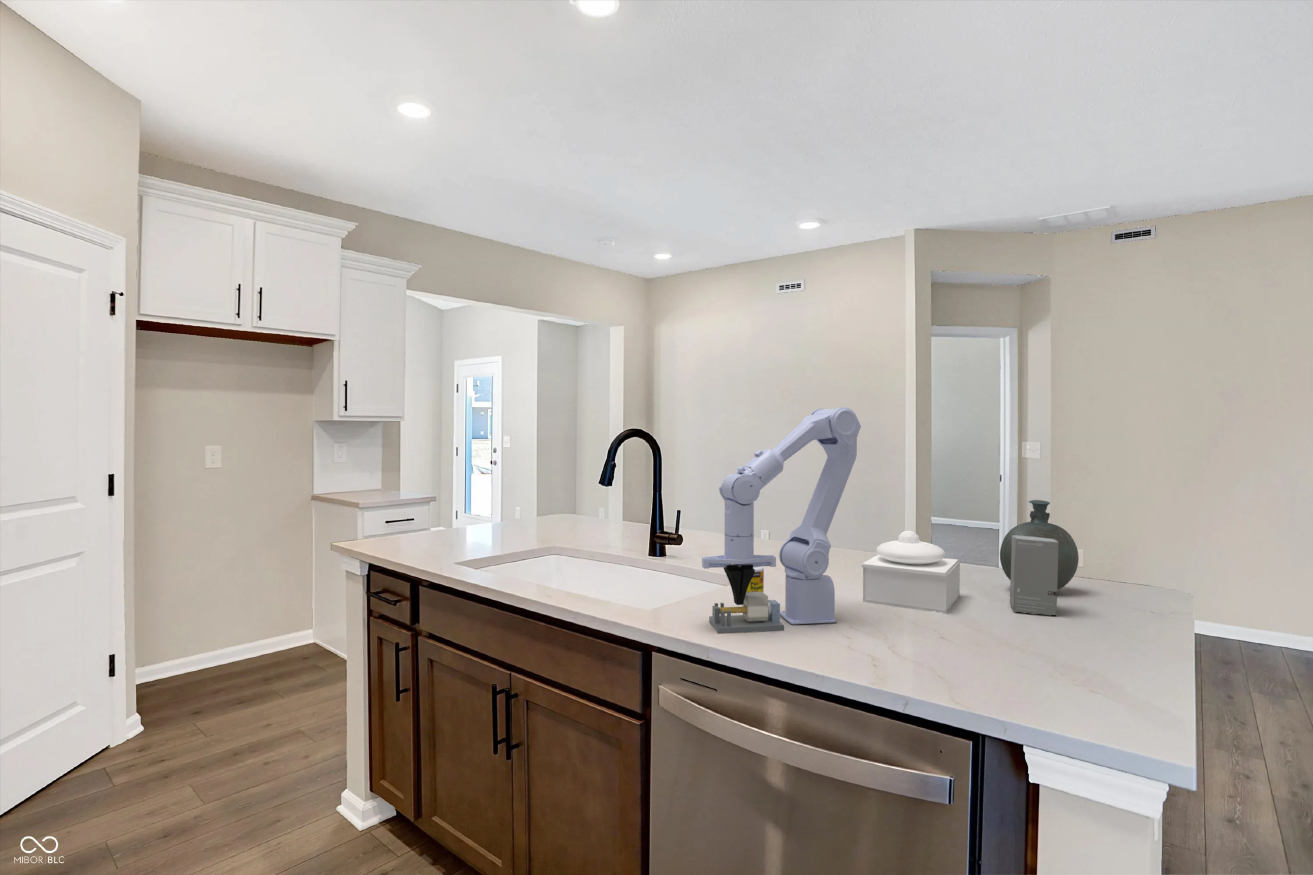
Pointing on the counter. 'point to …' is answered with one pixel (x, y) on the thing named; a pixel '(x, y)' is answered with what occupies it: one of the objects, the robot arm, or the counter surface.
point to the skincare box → (1034, 575)
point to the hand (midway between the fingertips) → (738, 603)
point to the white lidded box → (911, 575)
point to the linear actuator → (740, 623)
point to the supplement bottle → (757, 580)
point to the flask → (1043, 530)
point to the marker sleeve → (756, 606)
